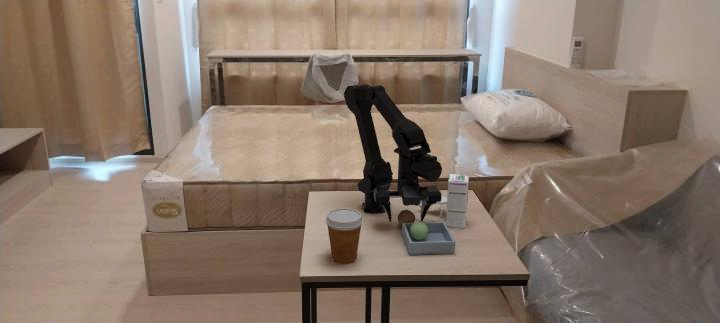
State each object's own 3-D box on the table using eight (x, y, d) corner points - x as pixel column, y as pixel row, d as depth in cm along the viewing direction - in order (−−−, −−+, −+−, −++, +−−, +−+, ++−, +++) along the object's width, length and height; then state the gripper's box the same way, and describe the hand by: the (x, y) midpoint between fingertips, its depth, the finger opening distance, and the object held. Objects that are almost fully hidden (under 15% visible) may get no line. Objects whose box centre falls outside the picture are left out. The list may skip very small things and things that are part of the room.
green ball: (408, 235, 149) (408, 218, 147) (425, 234, 149) (426, 218, 147) (411, 243, 144) (411, 227, 142) (429, 242, 144) (430, 226, 143)
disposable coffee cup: (335, 270, 131) (335, 226, 127) (319, 253, 139) (319, 211, 135) (369, 261, 135) (370, 218, 131) (352, 245, 143) (352, 204, 139)
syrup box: (465, 228, 154) (469, 181, 149) (444, 226, 155) (448, 180, 150) (465, 220, 159) (469, 174, 155) (445, 218, 160) (449, 173, 156)
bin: (401, 234, 150) (402, 222, 149) (443, 233, 151) (444, 221, 150) (409, 255, 139) (410, 243, 138) (454, 253, 140) (455, 241, 139)
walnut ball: (396, 222, 157) (396, 207, 155) (412, 222, 158) (413, 206, 156) (398, 230, 152) (399, 214, 151) (416, 229, 153) (416, 213, 151)
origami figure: (453, 207, 168) (454, 193, 167) (458, 219, 160) (459, 204, 159) (415, 207, 168) (416, 192, 166) (418, 218, 160) (419, 203, 159)
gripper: (378, 182, 141) (377, 235, 146) (448, 180, 143) (444, 233, 148) (373, 167, 151) (372, 217, 157) (438, 166, 153) (435, 216, 158)
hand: (405, 221), depth 155 cm, fingers open, 9 cm apart
